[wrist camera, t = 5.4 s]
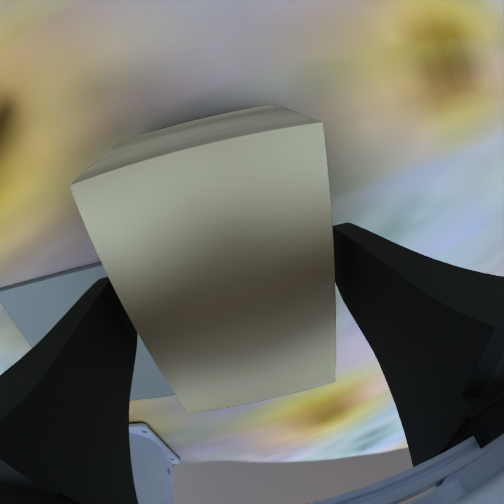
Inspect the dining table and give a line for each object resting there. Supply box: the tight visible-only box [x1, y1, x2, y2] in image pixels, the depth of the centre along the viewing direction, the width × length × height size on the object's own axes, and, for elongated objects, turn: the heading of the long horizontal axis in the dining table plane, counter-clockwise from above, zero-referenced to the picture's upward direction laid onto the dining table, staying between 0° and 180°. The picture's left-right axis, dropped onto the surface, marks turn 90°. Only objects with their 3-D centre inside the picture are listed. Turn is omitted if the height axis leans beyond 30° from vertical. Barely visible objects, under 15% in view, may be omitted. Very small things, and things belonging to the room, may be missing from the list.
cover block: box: [70, 104, 336, 414], centre depth 11 cm, size 9×6×5 cm, turn 10°
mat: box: [0, 262, 175, 400], centre depth 19 cm, size 12×9×1 cm
